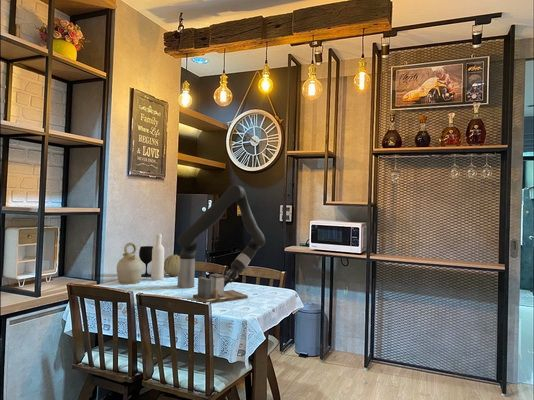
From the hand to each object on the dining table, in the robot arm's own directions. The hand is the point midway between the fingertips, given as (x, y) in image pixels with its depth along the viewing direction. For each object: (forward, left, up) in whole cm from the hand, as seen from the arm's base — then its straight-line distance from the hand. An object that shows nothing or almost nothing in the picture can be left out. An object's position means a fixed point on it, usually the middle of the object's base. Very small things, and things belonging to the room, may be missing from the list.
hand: (221, 287), depth 217 cm
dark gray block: (-6, -9, -4) cm, 11 cm away
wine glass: (-73, +38, -6) cm, 82 cm away
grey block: (-1, -3, -4) cm, 5 cm away
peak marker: (+1, -8, -4) cm, 9 cm away
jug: (-69, +14, -6) cm, 70 cm away
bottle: (-59, +30, -6) cm, 66 cm away
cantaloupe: (-56, +46, -6) cm, 72 cm away
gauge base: (0, 0, -6) cm, 6 cm away
